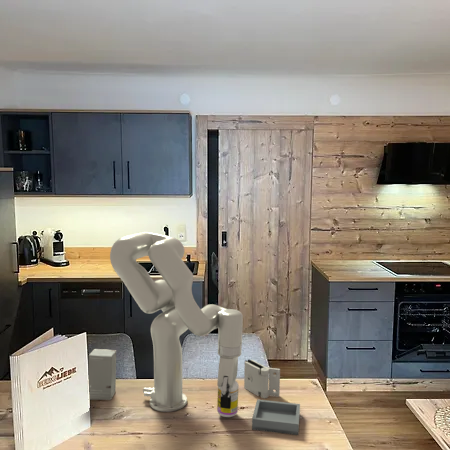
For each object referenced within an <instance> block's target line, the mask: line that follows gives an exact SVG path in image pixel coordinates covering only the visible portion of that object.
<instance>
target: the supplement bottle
mask: <svg viewBox="0 0 450 450" xmlns="http://www.w3.org/2000/svg"><path fill="white" fill-rule="evenodd" d="M227 386H228V387H229V386H230V385H228V384H227ZM239 387H240V386H239V383H238V381H237V377H236V378H235V382H234V385H233V387H232V388H231V392H230V396H231V408H230V409H226V408H221V407H220V402H221V390H222V385H221V387H218V386H217V401H216V402H217V404H216V412H217V414H219V415H220V416H222V417H224V418H231V417H235V416H236V415H237V414H238V407H239V389H240V388H239ZM228 390H229V389H227V391H228Z"/></svg>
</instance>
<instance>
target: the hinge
mask: <svg viewBox="0 0 450 450" xmlns="http://www.w3.org/2000/svg"><path fill="white" fill-rule="evenodd" d="M243 368H244V372H243V373H244V377H243V378H244V381H243V386H244V387H243V388H244V389H246V391H248V392H250V393H252V394H254V396H255V395H256V396H257V397H259V396H260V398H262V399H267V398H269V396H270V397H276V398H279V397H280V392H281V391H280V390H281V389H280V388H281V386H280V385H281V382H280V380H281V368H276V367H275V368H274V367H273V368H272V367H267V366H265V365H263V364H262V363H259V362H257V361H256V360H254V359H249V358H248V359H247V360H244V367H243ZM274 390H275V391H274Z"/></svg>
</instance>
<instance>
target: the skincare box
mask: <svg viewBox="0 0 450 450" xmlns="http://www.w3.org/2000/svg"><path fill="white" fill-rule="evenodd" d="M116 369H117V350H116V349H106V348H104V349H103V348H101V349H100V348H94V349H93V350H92V351H91V352H90V353H89V355H88V369H87V370H88V373H87V376H88V375H89V392H90V400H96V401H97V400H99V401H103V400H104V401H106V400H107V401H111V400H112V399H113V396H114V395H115V393H116V388H117V387H116V385H117V384H116V383H117V382H116V379H117V377H116V376H117V373H116V372H117V370H116Z"/></svg>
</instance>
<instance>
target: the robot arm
mask: <svg viewBox="0 0 450 450" xmlns="http://www.w3.org/2000/svg"><path fill="white" fill-rule="evenodd" d="M184 255H185V245H184V244H183V243H182V241H180V240H179V239H177V238H176V237H172V236H168V235H164V234H159V233H153V232H149V231H143V232H142V231H141V232H138V233H132V234H128V235H125V236H122V237H120V238H118V239H117V240H115V241H114V243H113V244H112V246H111V248H110V254H109V260H110V264H111V267H112V269H113V271H114V272H115V273H116V274H117V276H118V277H119V278H120V280H121V281H122V282H123V284H124V285H125V287H126V288H127V290H128V292H129V293H130V295H131V296H132V298H133V299H134V301H135V302H136V304H137V305H138V307H139V308H140V310H141V311H142V312H143V313H145V314H154V313H157V312H158V311H160V310H161V311H162V312H161V313H160V314H158V315H157V316H156V317H155V318H154V319H153V320H152V322H151V325H150V336H151V340H152V345H153V346H152V347H153V385H154V386H153V387H148V386H146V387H145V386H144V387H143V389H142V393H143V396H144V397H150V398H149V406H150V408H152V409H153V410H155V411H158V412H165V413H166V412H167V413H169V412H175V411H178V410H182V409H183V408H184V407H186V405H187V403H188V397H187V395H186V394H185V393H183V348H182V345H181V341H180V336H182V335H183V334H184V333H185V332H186V331H188V330H189V331H190V332H191V333H192V334H193V335H195V336H197V337H204V336H207V335H208V334H210V333H211V332H212V331H214V330H217V329H218V333H217V334H218V336H217V337H218V338H217V340H218V341H217V354H218V356H219V362H218V369H217V370H218V371H217V372H218V373H217V385H216V386H217V388H218V387H221V385H222V390H221V402H220V407H221V408H226V409H230V408H231V396H230V392H231V388H232V387H233V385H234V382H235V381H236V380H235V378H236V379H237V377H238V376H237V375H238V371H239V370H238V367H239V366H238V365H239V357H241V355H242V352H243V351H242V347H243V345H242V344H243V327H244V325H243V323H244V321H243V320H244V317H243V316H244V315H243V313H242V312H241V311H240V310H238V309H235V308H233V309H232V308H226V307H222V306H220V305H218V304H213V303H212V304H210V303H209V304H206V305H204V306H203V307H202V308H201V307H200V306H199V305H198V304H197V302H196V300H195V298H194V295H193V291H192V287H193V283H194V282H193V281H194V273H193V272H192V271H191V269H189V267H188V265H187V264H186V263H185V262H184V260H183V257H184ZM143 257H148V259H149V261H150V262H151V263H152V265H153V267H154V268H155V269H156V270H157V272H158V273H159V275H160V276H161V278H162V279H156V280H154V279H153V277H151V275H150V274H149V272H148V271H147V270H146V268H145V267H144V266H142V265H141V264H140V263H138V262H137V260H138V259H141V258H143ZM227 384H228V385H230V386H229V387H228V386H227ZM227 389H229V390H228V391H227Z"/></svg>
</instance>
